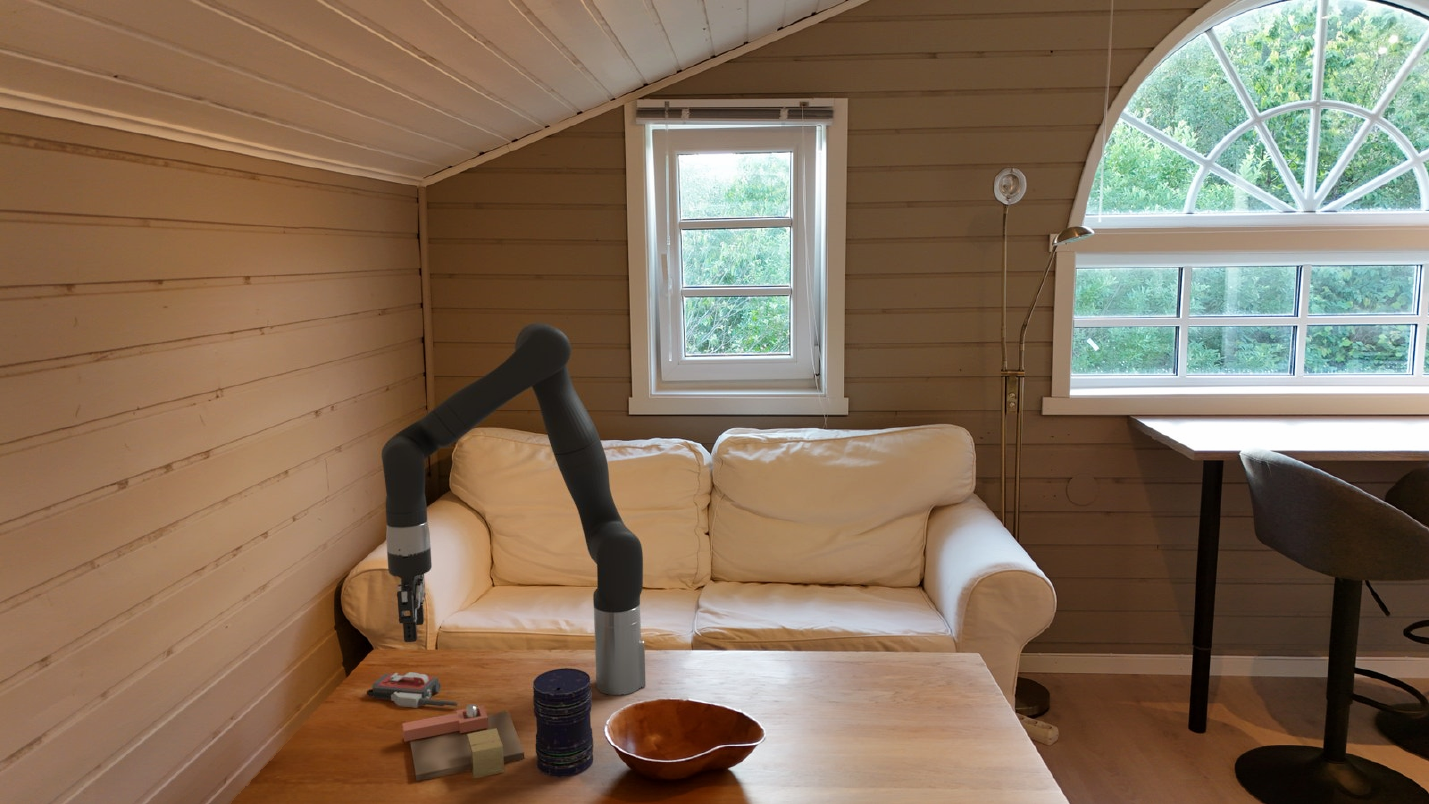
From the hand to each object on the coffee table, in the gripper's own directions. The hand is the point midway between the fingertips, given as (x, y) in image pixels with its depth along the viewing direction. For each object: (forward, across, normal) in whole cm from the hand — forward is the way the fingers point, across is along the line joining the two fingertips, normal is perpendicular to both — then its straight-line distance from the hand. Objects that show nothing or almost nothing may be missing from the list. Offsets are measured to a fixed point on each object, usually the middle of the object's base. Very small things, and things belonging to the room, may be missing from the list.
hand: (414, 632), depth 175 cm
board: (+18, +10, +9) cm, 23 cm away
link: (+16, +6, +5) cm, 18 cm away
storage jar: (+18, +18, +27) cm, 37 cm away
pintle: (+18, +5, +10) cm, 21 cm away
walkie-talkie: (+19, -11, -2) cm, 22 cm away
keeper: (+18, +17, +14) cm, 28 cm away
